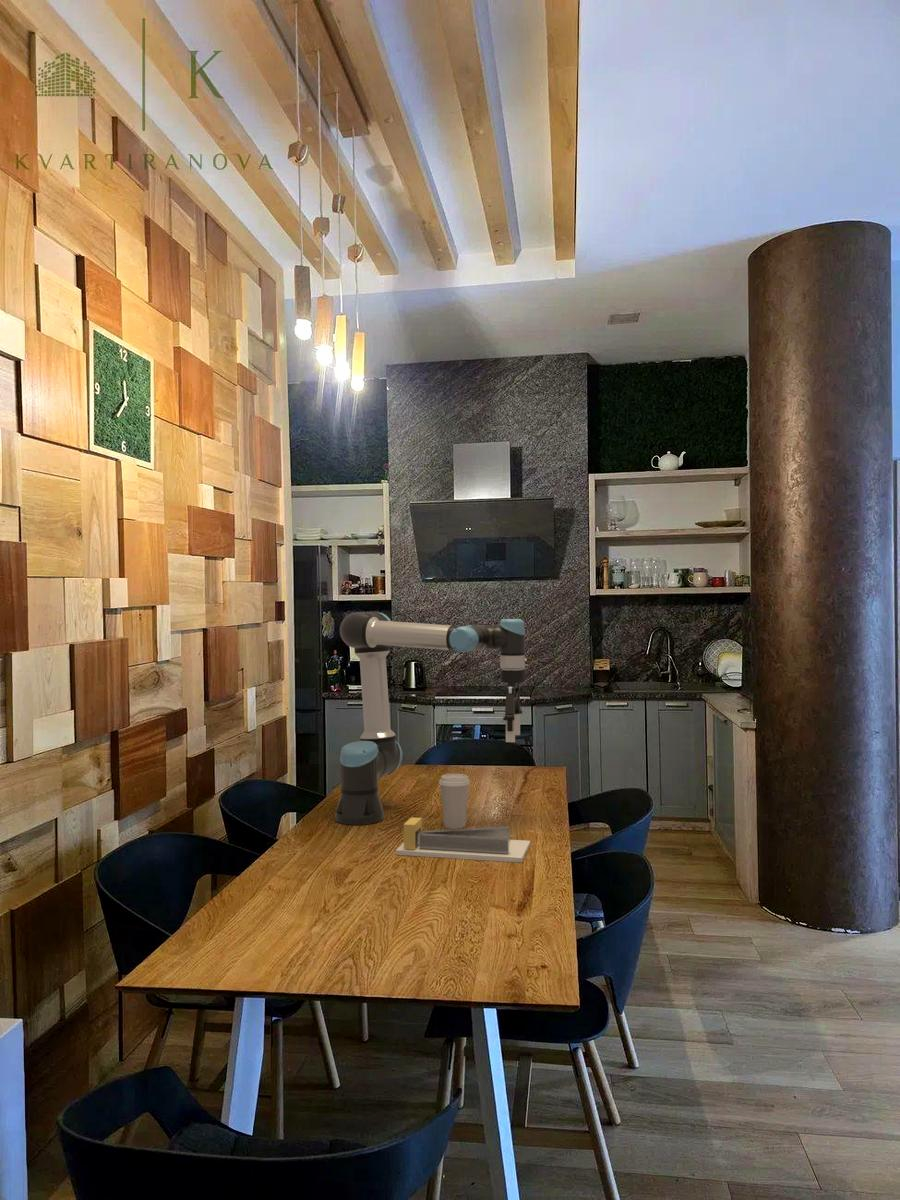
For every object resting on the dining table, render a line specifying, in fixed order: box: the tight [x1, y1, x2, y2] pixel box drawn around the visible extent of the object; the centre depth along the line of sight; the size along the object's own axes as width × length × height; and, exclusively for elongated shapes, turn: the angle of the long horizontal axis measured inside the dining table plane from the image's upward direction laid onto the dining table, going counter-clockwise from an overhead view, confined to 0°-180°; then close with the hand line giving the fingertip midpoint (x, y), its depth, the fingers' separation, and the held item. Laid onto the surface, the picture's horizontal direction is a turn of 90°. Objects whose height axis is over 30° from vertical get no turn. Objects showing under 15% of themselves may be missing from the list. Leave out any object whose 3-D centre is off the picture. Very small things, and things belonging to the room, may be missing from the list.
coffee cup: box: [438, 773, 471, 829], centre depth 253 cm, size 10×10×15 cm
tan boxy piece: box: [403, 817, 423, 849], centre depth 228 cm, size 3×8×6 cm, turn 167°
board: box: [395, 839, 531, 863], centre depth 228 cm, size 34×16×1 cm, turn 77°
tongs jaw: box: [422, 826, 511, 841], centre depth 230 cm, size 24×2×4 cm, turn 99°
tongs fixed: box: [415, 830, 509, 854], centre depth 225 cm, size 28×4×4 cm, turn 77°
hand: (513, 738), depth 257 cm, fingers open, 13 cm apart
